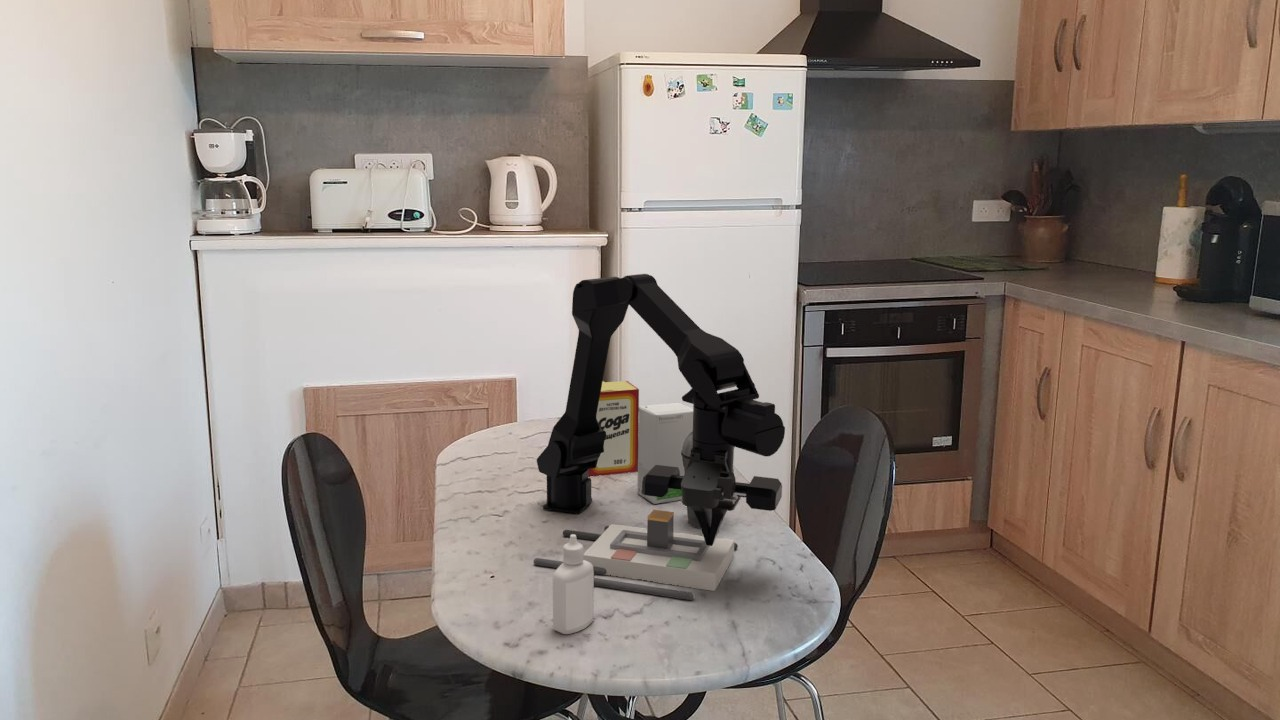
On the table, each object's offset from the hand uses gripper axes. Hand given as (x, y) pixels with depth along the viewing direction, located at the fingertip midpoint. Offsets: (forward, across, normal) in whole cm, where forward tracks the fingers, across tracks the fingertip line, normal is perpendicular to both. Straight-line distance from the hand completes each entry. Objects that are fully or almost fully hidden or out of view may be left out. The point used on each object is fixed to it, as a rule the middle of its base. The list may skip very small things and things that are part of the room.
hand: (710, 544), depth 137 cm
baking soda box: (+4, -28, +37) cm, 47 cm away
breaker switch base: (+4, -7, 0) cm, 8 cm away
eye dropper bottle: (+4, -12, -21) cm, 25 cm away
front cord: (+4, -12, -8) cm, 15 cm away
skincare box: (+4, -14, +27) cm, 31 cm away
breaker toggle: (+1, -7, 0) cm, 7 cm away
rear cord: (+4, -11, +7) cm, 14 cm away
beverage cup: (+4, -5, +17) cm, 18 cm away
